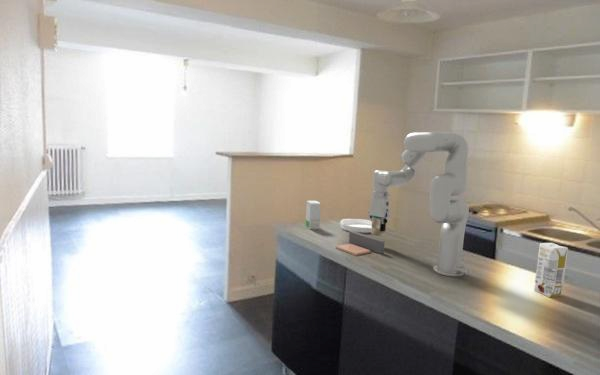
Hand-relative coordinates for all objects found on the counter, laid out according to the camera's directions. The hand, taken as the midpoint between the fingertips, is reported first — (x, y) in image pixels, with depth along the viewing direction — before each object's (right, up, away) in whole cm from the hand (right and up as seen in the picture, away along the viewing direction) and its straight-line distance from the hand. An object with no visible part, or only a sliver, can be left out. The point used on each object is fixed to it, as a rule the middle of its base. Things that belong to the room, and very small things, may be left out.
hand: (378, 229), depth 217 cm
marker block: (0, -3, 0) cm, 3 cm away
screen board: (-7, -9, -3) cm, 12 cm away
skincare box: (-33, -2, +35) cm, 48 cm away
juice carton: (+54, -19, -55) cm, 79 cm away
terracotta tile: (-14, -9, -9) cm, 19 cm away
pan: (-5, -4, +38) cm, 38 cm away
